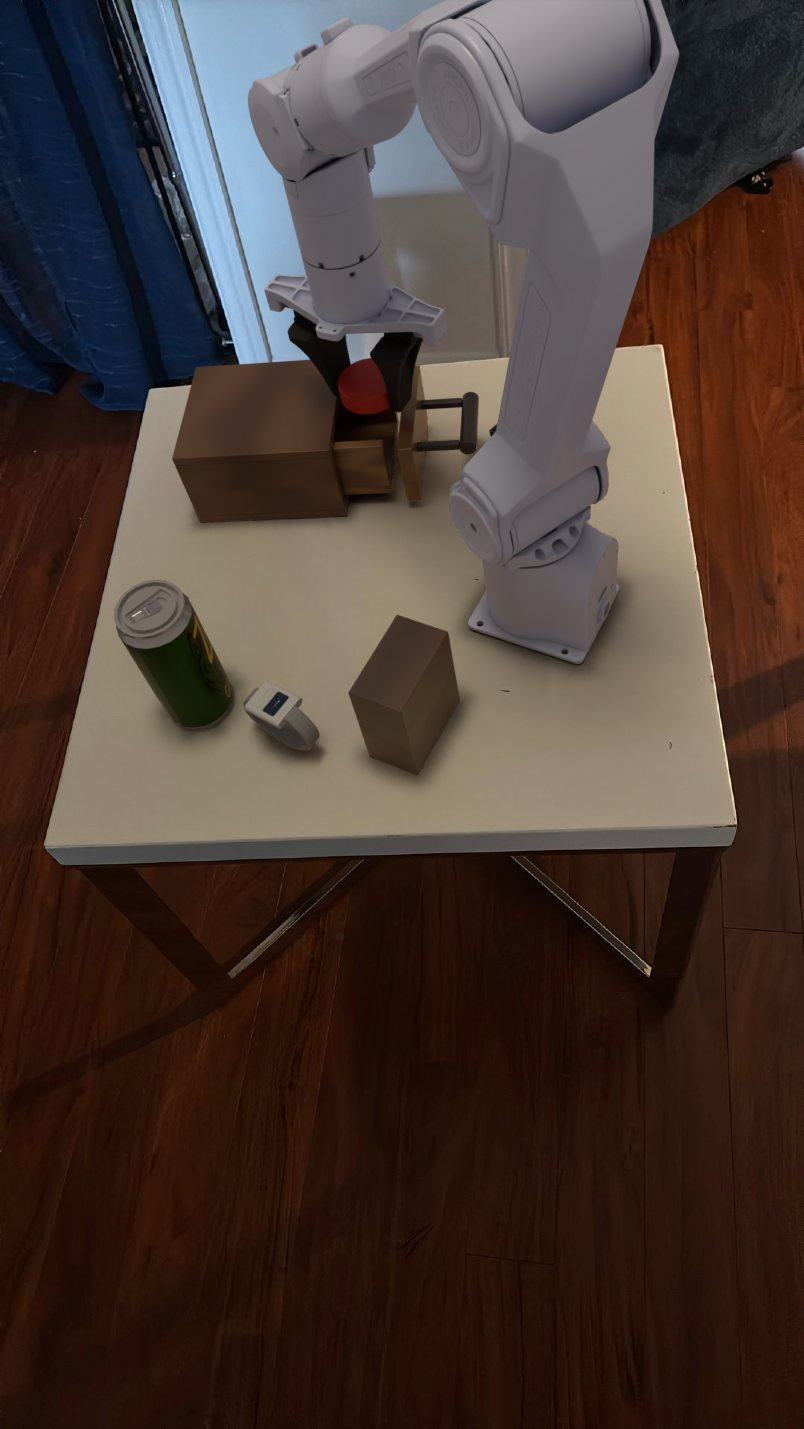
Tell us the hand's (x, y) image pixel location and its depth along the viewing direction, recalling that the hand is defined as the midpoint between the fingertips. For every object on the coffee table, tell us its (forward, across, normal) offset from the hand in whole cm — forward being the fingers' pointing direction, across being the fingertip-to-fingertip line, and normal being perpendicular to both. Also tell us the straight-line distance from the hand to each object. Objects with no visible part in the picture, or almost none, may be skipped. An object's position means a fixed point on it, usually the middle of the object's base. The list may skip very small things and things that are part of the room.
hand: (372, 396), depth 85 cm
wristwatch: (+8, +6, -27) cm, 29 cm away
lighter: (+8, +12, +5) cm, 15 cm away
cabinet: (+8, -9, -4) cm, 12 cm away
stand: (+8, +15, -23) cm, 28 cm away
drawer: (+7, 0, 0) cm, 7 cm away
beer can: (+8, -2, -27) cm, 29 cm away
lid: (0, 0, 0) cm, 0 cm away
